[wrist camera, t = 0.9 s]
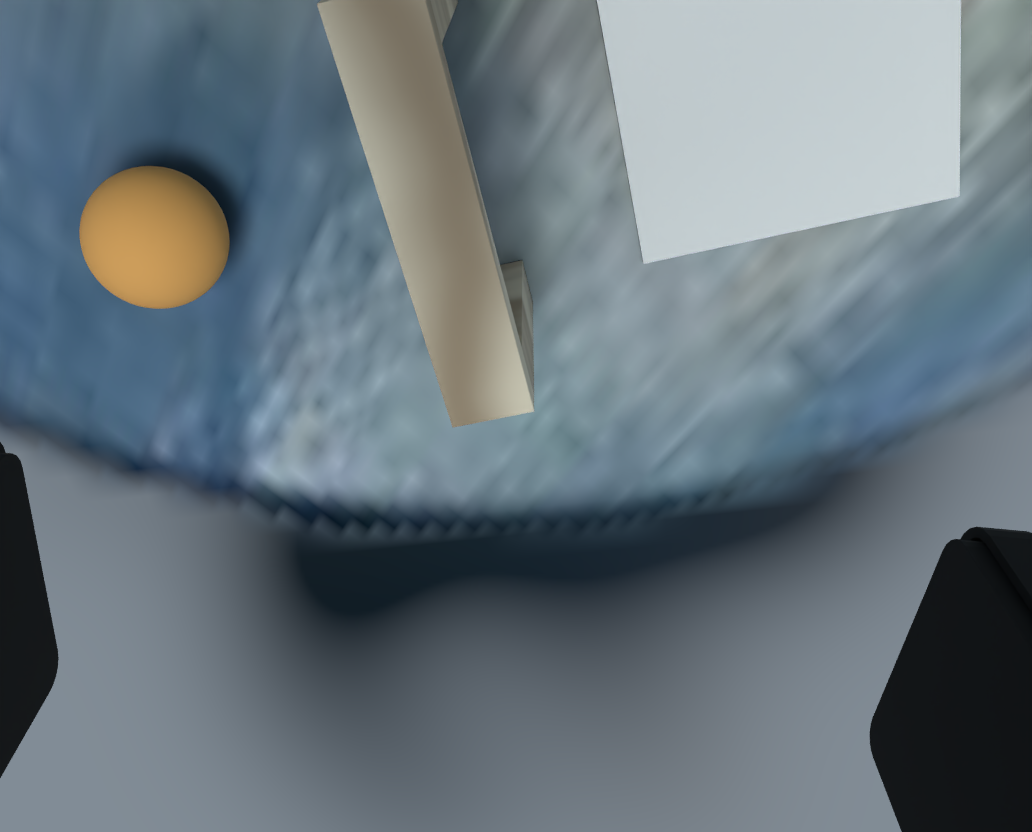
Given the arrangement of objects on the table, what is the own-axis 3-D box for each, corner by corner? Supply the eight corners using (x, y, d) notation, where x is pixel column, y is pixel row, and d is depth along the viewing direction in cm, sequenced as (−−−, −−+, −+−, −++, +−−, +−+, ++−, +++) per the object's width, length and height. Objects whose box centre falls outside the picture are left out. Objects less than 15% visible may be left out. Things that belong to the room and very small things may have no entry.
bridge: (466, 315, 42) (452, 427, 34) (364, -36, 35) (316, 3, 27) (532, 301, 42) (533, 411, 34) (443, -57, 34) (419, -23, 26)
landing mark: (643, 261, 41) (643, 263, 40) (584, -70, 34) (584, -70, 34) (957, 194, 39) (959, 196, 39) (960, -169, 32) (962, -168, 32)
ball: (93, 234, 40) (35, 287, 35) (138, 122, 38) (82, 163, 33) (214, 297, 42) (175, 356, 37) (265, 193, 39) (230, 242, 34)
